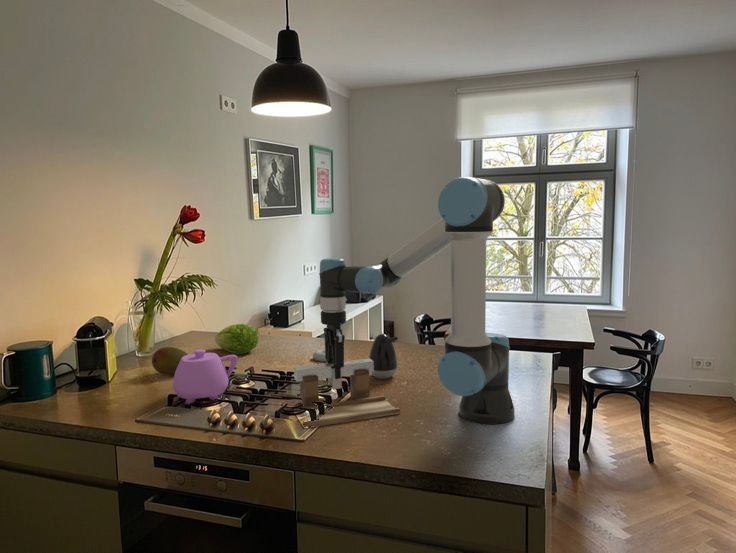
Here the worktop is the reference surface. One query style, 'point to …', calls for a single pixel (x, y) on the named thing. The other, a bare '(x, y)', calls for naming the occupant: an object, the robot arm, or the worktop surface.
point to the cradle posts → (357, 387)
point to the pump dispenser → (384, 356)
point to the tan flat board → (354, 411)
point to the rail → (326, 370)
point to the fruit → (167, 359)
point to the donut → (319, 355)
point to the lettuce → (237, 338)
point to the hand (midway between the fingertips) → (334, 386)
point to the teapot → (202, 375)
